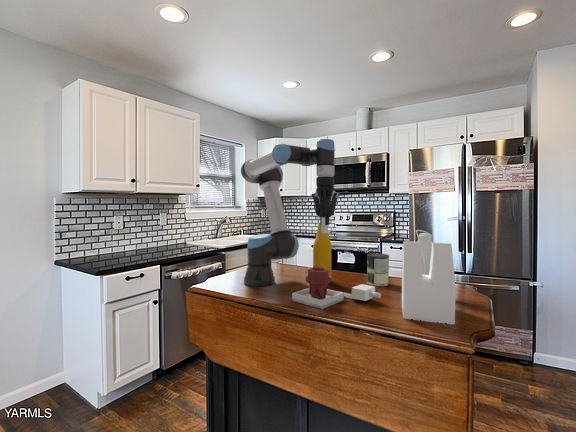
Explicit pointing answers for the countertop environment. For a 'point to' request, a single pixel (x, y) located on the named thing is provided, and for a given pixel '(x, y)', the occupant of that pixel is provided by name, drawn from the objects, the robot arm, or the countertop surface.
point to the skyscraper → (425, 250)
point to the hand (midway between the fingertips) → (324, 232)
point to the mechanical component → (318, 281)
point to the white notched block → (428, 284)
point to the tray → (321, 303)
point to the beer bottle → (322, 250)
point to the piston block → (364, 292)
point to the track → (348, 295)
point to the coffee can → (377, 269)
